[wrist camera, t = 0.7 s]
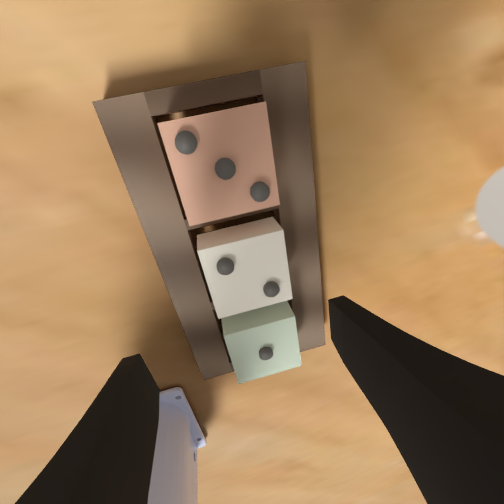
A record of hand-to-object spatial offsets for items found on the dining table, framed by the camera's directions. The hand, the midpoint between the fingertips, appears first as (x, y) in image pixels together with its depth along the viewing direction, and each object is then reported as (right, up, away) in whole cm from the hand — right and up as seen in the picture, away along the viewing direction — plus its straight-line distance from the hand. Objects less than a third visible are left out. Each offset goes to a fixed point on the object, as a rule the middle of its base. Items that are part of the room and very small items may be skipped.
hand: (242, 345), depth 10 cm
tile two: (0, +3, +8) cm, 9 cm away
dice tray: (-1, +4, +10) cm, 10 cm away
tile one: (+1, -3, +11) cm, 12 cm away
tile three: (-1, +9, +5) cm, 10 cm away
